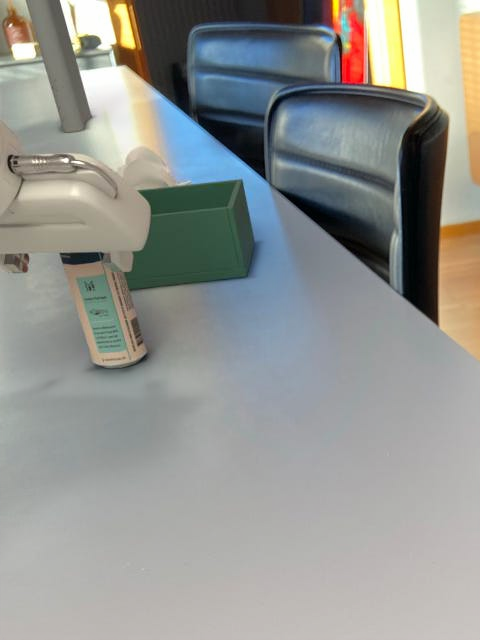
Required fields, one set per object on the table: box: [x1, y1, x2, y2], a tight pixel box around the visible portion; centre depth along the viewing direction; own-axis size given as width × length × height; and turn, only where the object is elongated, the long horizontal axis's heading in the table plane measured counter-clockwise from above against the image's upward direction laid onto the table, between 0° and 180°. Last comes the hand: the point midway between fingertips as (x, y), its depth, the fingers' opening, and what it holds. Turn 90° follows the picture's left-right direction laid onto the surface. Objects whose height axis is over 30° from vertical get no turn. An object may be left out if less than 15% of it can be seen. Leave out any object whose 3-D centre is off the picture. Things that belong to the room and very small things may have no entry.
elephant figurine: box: [115, 145, 192, 190], centre depth 124 cm, size 10×12×9 cm
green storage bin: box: [124, 178, 256, 291], centre depth 111 cm, size 13×13×7 cm
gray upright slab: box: [25, 0, 93, 133], centre depth 191 cm, size 17×5×25 cm, turn 12°
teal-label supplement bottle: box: [58, 252, 148, 369], centre depth 87 cm, size 5×5×12 cm
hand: (72, 264), depth 82 cm, fingers open, 8 cm apart
